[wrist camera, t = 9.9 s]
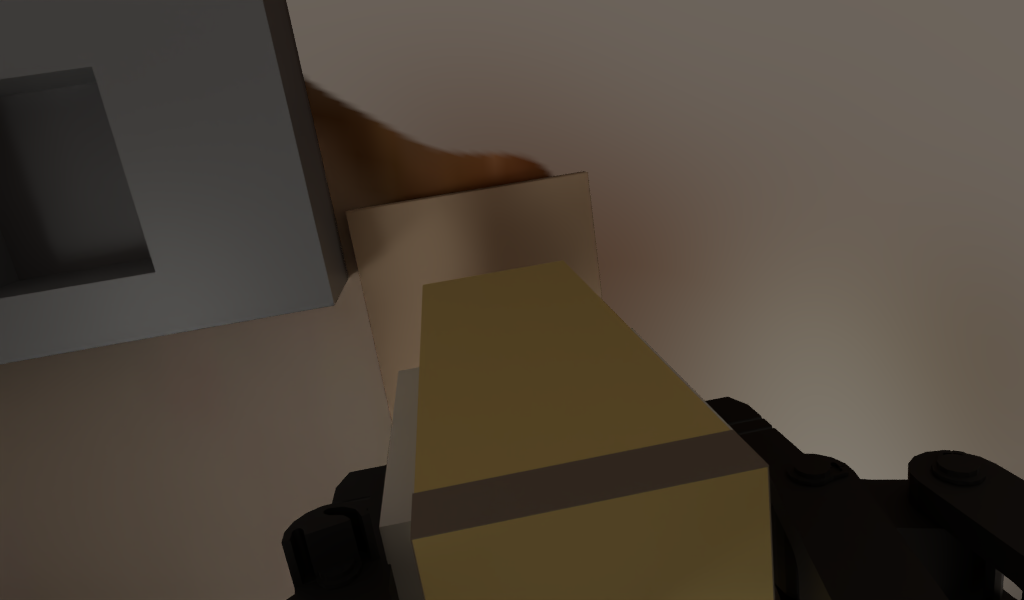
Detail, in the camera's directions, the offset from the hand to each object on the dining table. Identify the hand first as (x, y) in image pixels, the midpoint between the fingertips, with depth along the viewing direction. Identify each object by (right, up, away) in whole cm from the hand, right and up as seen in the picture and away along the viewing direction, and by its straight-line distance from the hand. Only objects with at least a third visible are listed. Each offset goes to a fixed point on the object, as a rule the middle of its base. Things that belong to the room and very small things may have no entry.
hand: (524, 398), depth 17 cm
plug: (-1, +1, +5) cm, 5 cm away
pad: (-1, +2, +9) cm, 9 cm away
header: (-15, +7, +6) cm, 18 cm away
